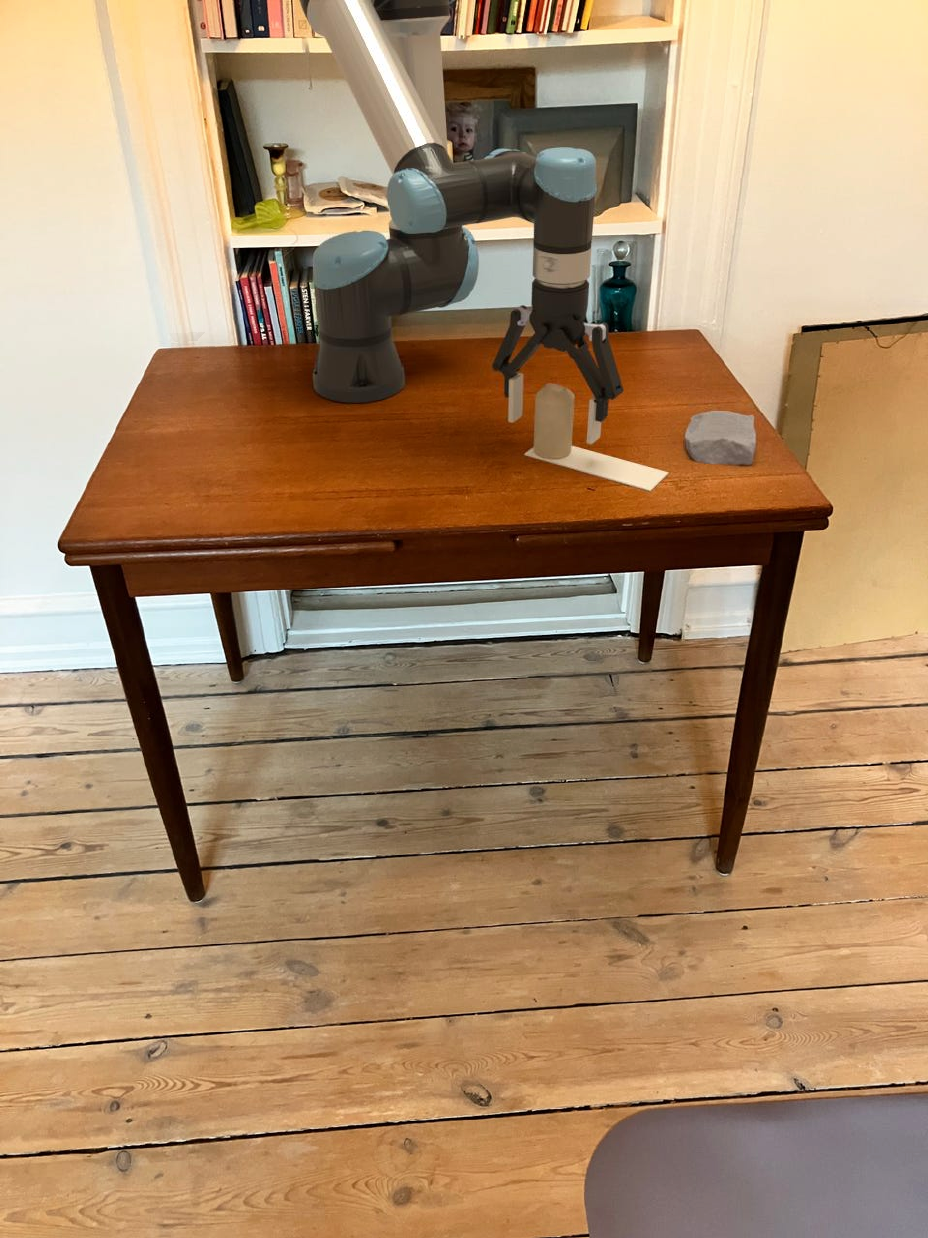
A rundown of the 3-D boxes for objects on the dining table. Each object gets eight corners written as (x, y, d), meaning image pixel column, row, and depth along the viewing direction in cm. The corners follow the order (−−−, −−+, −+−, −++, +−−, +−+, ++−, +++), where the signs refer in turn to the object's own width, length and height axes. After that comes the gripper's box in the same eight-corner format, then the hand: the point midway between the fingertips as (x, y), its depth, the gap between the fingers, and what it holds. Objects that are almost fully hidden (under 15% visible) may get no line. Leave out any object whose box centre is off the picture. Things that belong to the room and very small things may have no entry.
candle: (577, 447, 146) (582, 383, 140) (560, 462, 143) (563, 397, 137) (544, 438, 149) (547, 375, 143) (526, 453, 145) (528, 388, 139)
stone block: (686, 474, 144) (758, 467, 142) (684, 443, 142) (757, 436, 139) (686, 440, 154) (754, 433, 151) (684, 411, 151) (752, 403, 149)
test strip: (524, 455, 145) (524, 453, 145) (544, 439, 149) (544, 437, 149) (650, 491, 136) (650, 490, 136) (668, 473, 140) (668, 472, 140)
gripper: (467, 271, 134) (468, 419, 147) (632, 304, 123) (618, 460, 136) (497, 256, 139) (495, 400, 152) (658, 287, 128) (642, 439, 141)
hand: (553, 429), depth 144 cm, fingers open, 12 cm apart
